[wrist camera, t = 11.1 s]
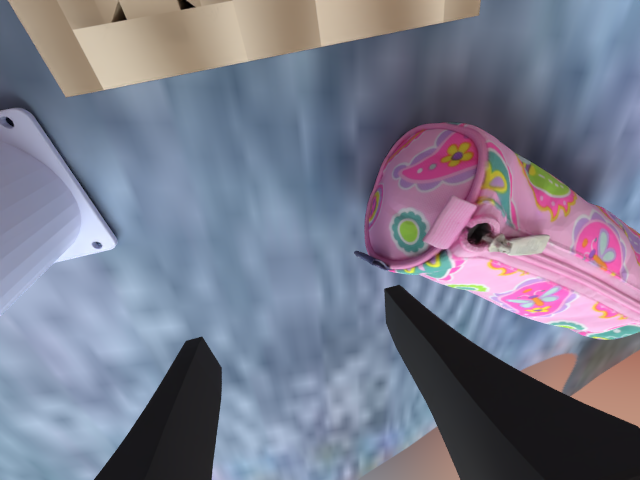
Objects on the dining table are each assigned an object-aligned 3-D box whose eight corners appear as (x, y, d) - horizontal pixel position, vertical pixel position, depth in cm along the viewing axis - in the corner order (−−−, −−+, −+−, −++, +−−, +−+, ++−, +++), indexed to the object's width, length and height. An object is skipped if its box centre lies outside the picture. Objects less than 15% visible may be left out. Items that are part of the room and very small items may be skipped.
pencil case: (333, 220, 20) (379, 315, 13) (407, 89, 16) (536, 113, 9) (517, 290, 28) (611, 373, 21) (593, 213, 25) (741, 280, 17)
